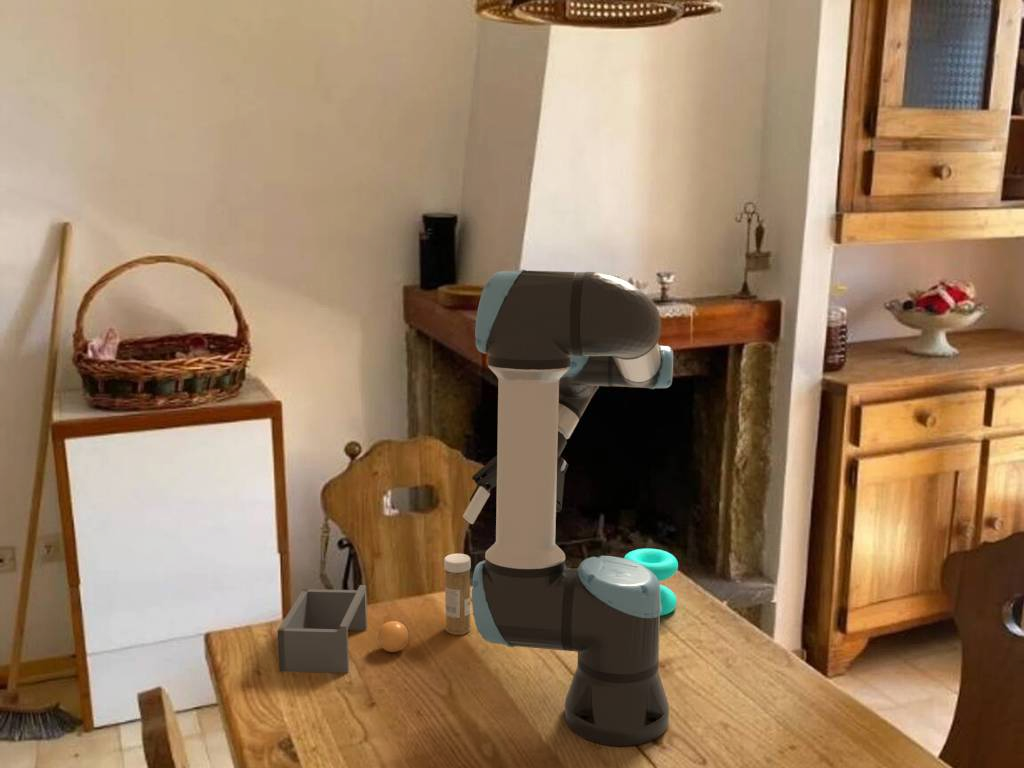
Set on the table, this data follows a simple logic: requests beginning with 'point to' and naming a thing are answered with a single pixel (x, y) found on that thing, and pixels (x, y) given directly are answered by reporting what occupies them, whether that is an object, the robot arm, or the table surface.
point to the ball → (393, 636)
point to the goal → (321, 630)
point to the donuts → (658, 572)
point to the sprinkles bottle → (457, 593)
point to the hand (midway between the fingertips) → (494, 530)
